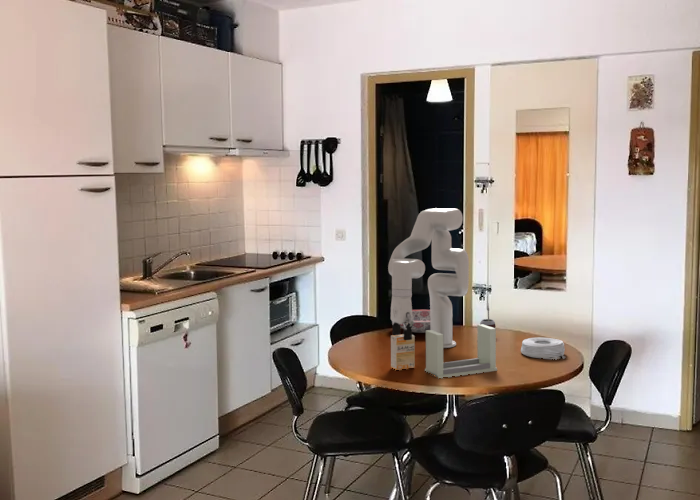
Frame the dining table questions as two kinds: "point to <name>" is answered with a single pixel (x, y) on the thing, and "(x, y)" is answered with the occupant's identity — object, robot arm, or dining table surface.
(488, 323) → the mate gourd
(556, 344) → the cable
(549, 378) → the dining table surface
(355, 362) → the dining table surface
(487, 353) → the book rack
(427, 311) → the ceramic bowl
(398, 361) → the supplement box
